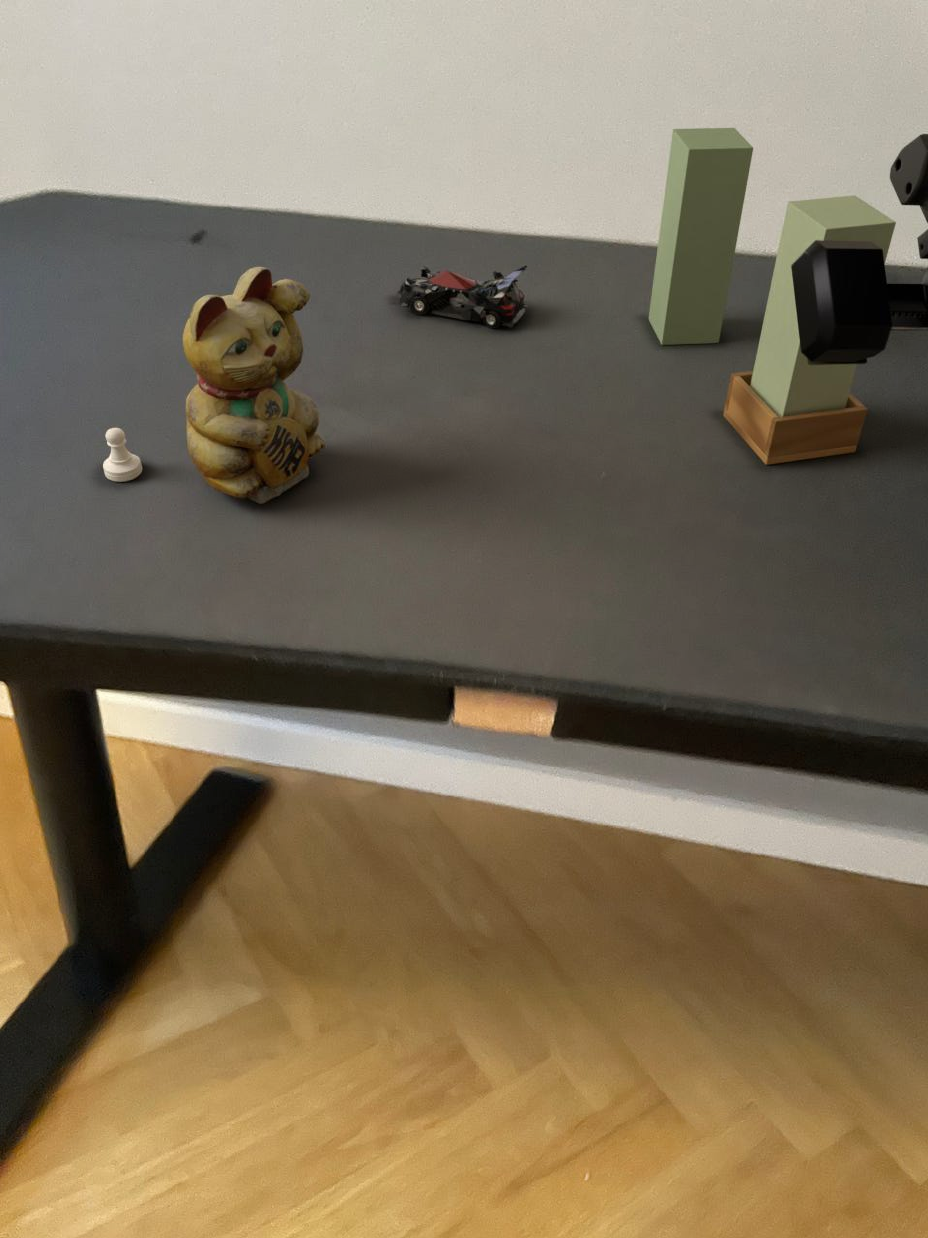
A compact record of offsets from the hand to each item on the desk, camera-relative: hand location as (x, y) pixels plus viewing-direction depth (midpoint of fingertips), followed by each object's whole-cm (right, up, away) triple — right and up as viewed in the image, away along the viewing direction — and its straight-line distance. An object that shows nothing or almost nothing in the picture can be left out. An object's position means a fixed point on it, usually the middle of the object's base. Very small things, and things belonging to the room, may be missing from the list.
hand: (875, 356), depth 68 cm
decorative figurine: (-41, -7, +7) cm, 42 cm away
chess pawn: (-50, -7, +7) cm, 51 cm away
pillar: (-7, +8, +25) cm, 27 cm away
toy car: (-27, +11, +28) cm, 40 cm away
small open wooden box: (-2, -3, +12) cm, 13 cm away
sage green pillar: (-2, -2, +12) cm, 12 cm away
